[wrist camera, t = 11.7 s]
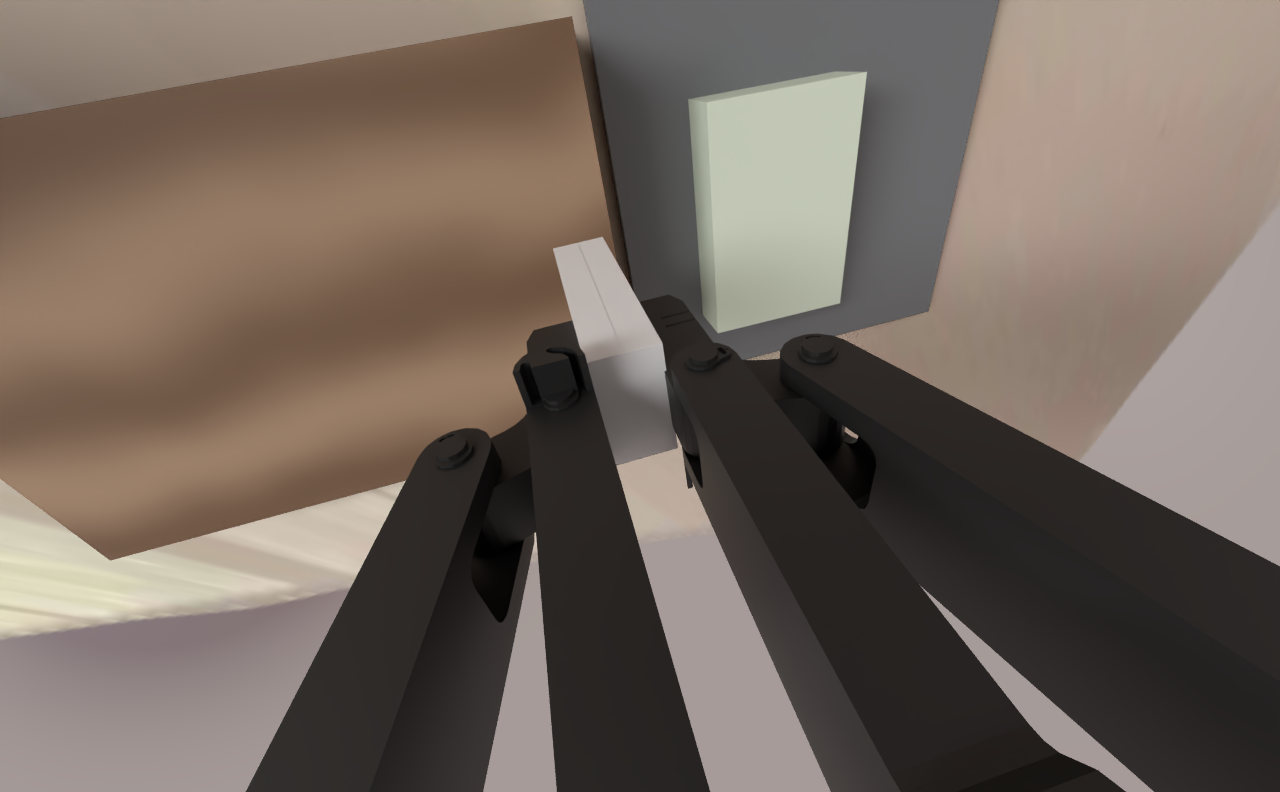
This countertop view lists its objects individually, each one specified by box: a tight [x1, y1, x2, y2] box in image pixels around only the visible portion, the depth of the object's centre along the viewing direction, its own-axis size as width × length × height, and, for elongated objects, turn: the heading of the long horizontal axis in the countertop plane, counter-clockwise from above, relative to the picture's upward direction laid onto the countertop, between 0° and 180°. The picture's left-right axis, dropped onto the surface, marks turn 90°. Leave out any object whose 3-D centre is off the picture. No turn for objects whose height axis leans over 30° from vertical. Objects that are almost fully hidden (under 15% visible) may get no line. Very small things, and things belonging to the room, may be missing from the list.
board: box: [0, 17, 617, 560], centre depth 18 cm, size 14×22×4 cm, turn 99°
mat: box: [583, 0, 999, 360], centre depth 21 cm, size 16×16×1 cm
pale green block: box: [688, 71, 867, 333], centre depth 20 cm, size 9×6×2 cm, turn 8°
